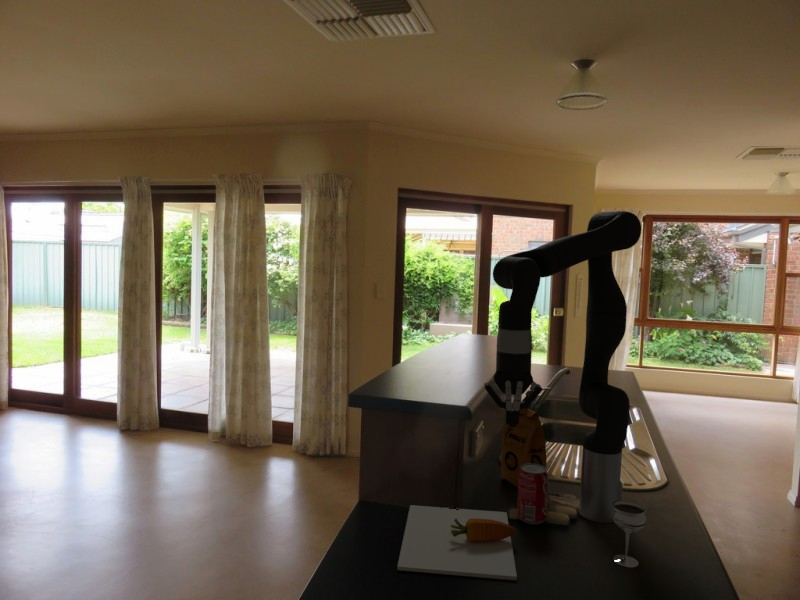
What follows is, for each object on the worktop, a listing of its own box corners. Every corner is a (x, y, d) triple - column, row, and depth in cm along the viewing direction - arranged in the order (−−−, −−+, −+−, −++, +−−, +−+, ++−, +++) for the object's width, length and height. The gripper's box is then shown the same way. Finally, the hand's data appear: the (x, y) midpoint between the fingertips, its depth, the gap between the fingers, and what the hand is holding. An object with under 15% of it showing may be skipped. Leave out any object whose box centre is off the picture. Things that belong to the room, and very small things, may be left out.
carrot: (512, 529, 131) (447, 528, 130) (515, 514, 129) (449, 513, 128) (516, 547, 127) (450, 547, 126) (520, 532, 125) (452, 531, 124)
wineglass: (604, 551, 126) (608, 499, 124) (635, 552, 125) (639, 500, 124) (615, 569, 119) (618, 513, 118) (648, 570, 119) (652, 515, 118)
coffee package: (521, 495, 153) (525, 415, 151) (495, 478, 164) (498, 403, 162) (551, 490, 157) (555, 412, 155) (523, 473, 168) (527, 400, 166)
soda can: (547, 527, 136) (550, 475, 134) (516, 524, 137) (518, 472, 136) (545, 514, 143) (548, 464, 141) (516, 510, 144) (518, 461, 143)
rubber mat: (506, 515, 142) (506, 512, 141) (516, 580, 114) (516, 576, 114) (410, 508, 144) (410, 505, 144) (397, 570, 116) (397, 566, 116)
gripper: (542, 346, 128) (539, 422, 129) (482, 345, 129) (480, 419, 131) (547, 352, 120) (544, 432, 122) (484, 351, 121) (482, 430, 123)
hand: (511, 426), depth 126 cm, fingers closed
